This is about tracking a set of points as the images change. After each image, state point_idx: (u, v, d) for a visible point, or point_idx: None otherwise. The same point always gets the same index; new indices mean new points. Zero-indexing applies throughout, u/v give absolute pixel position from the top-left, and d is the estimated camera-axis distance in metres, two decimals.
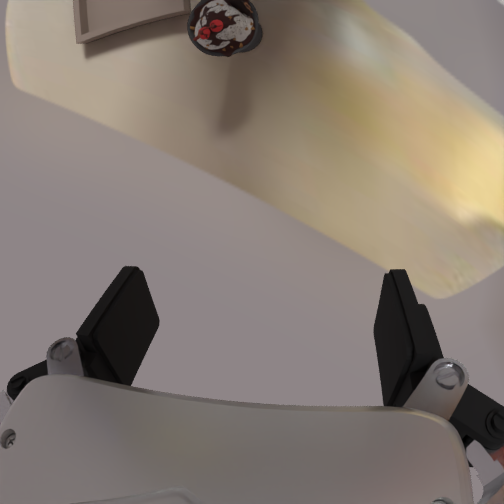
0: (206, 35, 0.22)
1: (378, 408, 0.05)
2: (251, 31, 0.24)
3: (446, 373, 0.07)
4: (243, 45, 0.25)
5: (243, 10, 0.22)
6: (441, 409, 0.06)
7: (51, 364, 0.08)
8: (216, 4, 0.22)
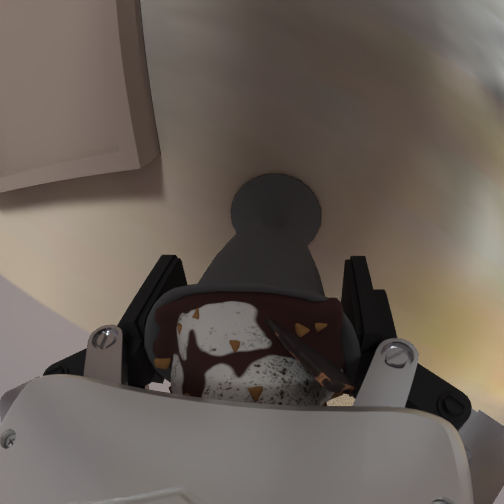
0: None
1: (377, 407, 0.05)
2: None
3: (394, 353, 0.08)
4: None
5: None
6: (385, 386, 0.07)
7: (95, 352, 0.08)
8: (231, 348, 0.08)
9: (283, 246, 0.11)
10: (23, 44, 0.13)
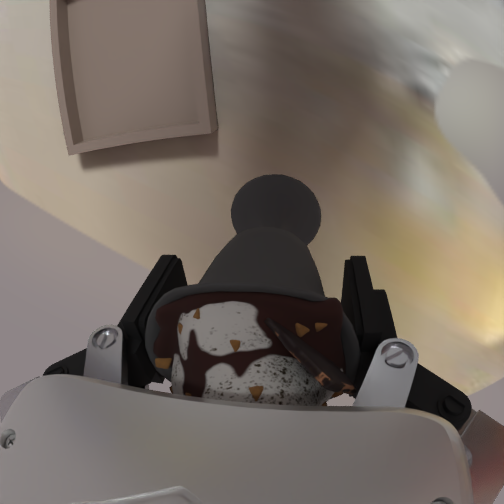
0: None
1: (377, 407, 0.05)
2: None
3: (394, 353, 0.08)
4: None
5: None
6: (385, 386, 0.07)
7: (94, 352, 0.08)
8: (231, 347, 0.08)
9: (283, 246, 0.11)
10: (123, 52, 0.25)
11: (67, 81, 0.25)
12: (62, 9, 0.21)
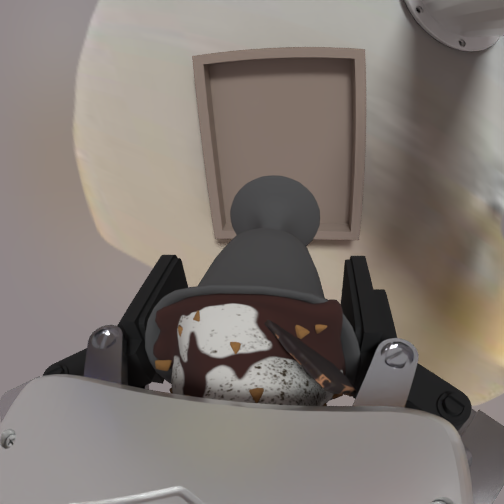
0: None
1: (377, 407, 0.05)
2: None
3: (394, 353, 0.08)
4: None
5: None
6: (385, 386, 0.07)
7: (95, 352, 0.08)
8: (231, 349, 0.08)
9: (283, 248, 0.11)
10: (280, 152, 0.32)
11: (216, 168, 0.33)
12: (208, 86, 0.28)
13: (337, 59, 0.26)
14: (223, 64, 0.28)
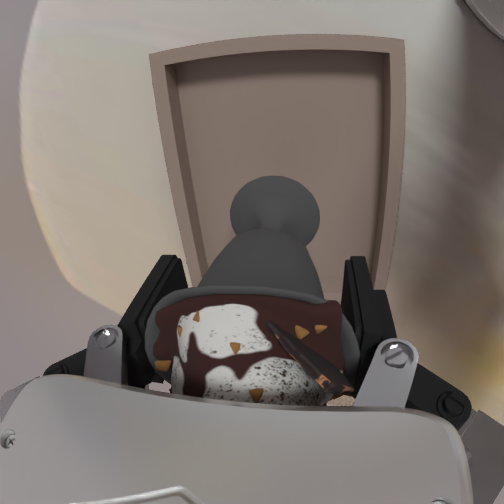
0: None
1: (377, 408, 0.05)
2: None
3: (394, 353, 0.08)
4: None
5: None
6: (385, 385, 0.07)
7: (95, 352, 0.08)
8: (231, 350, 0.08)
9: (282, 248, 0.11)
10: None
11: (192, 210, 0.24)
12: (174, 96, 0.20)
13: (362, 53, 0.17)
14: (195, 63, 0.19)
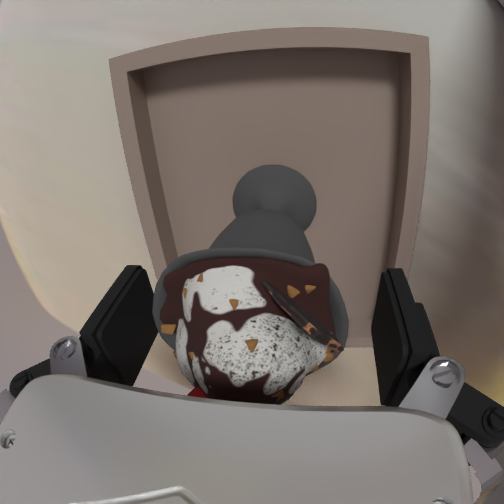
0: None
1: (377, 408, 0.05)
2: (324, 361, 0.11)
3: (442, 371, 0.07)
4: None
5: None
6: (437, 407, 0.06)
7: (54, 363, 0.08)
8: (230, 306, 0.09)
9: (279, 224, 0.12)
10: None
11: (167, 246, 0.20)
12: (141, 110, 0.16)
13: (374, 53, 0.13)
14: (166, 67, 0.15)
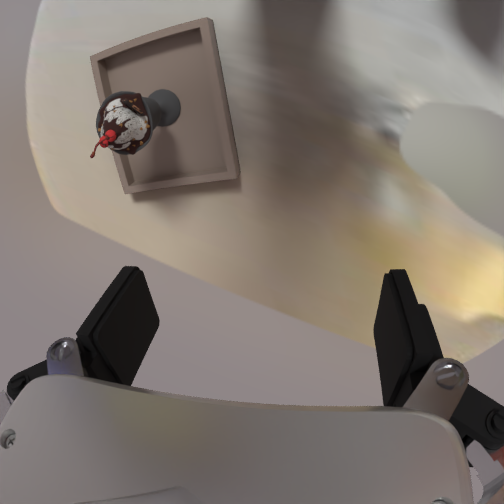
0: (105, 144, 0.27)
1: (378, 407, 0.05)
2: (147, 129, 0.28)
3: (446, 373, 0.07)
4: (144, 142, 0.29)
5: (135, 111, 0.26)
6: (441, 409, 0.06)
7: (51, 364, 0.08)
8: (113, 107, 0.26)
9: None
10: None
11: None
12: (104, 76, 0.34)
13: (193, 32, 0.31)
14: (114, 57, 0.33)
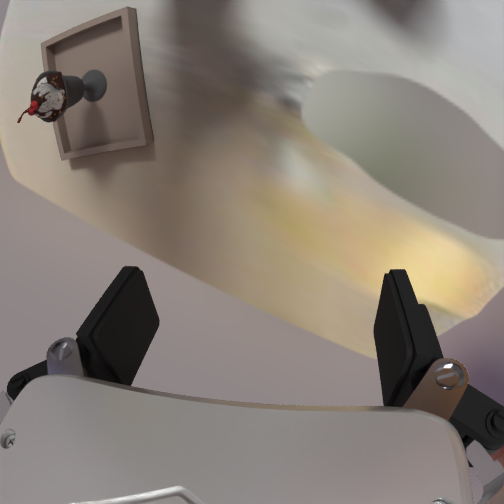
0: (31, 113, 0.28)
1: (377, 407, 0.05)
2: (63, 100, 0.29)
3: (446, 373, 0.07)
4: (62, 111, 0.31)
5: (55, 85, 0.28)
6: (441, 409, 0.06)
7: (51, 364, 0.08)
8: (40, 83, 0.28)
9: None
10: None
11: None
12: (51, 59, 0.35)
13: (119, 19, 0.32)
14: (60, 44, 0.34)
